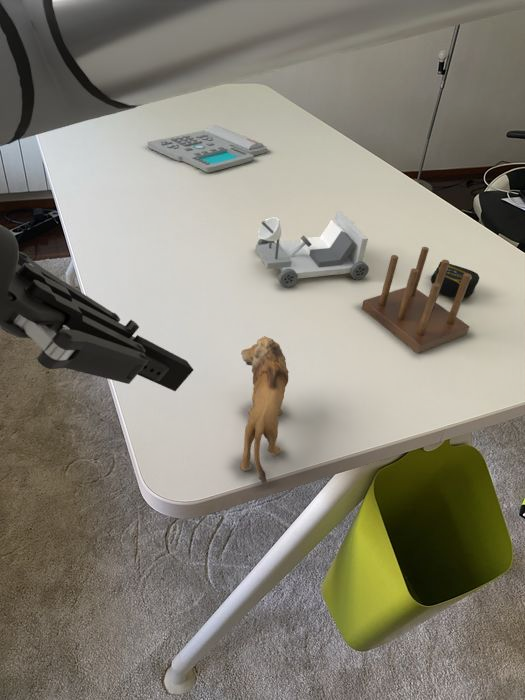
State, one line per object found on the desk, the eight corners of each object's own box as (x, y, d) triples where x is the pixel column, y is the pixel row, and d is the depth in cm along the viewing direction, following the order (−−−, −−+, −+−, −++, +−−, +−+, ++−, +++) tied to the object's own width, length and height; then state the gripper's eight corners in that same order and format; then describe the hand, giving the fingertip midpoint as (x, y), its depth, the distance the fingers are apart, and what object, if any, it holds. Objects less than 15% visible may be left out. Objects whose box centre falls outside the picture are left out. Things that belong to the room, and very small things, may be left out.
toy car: (268, 232, 79) (245, 198, 87) (262, 290, 85) (241, 253, 93) (380, 223, 84) (347, 192, 92) (366, 279, 90) (337, 245, 98)
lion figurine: (237, 388, 67) (242, 329, 62) (280, 389, 68) (289, 330, 62) (239, 487, 56) (245, 425, 50) (291, 487, 56) (302, 427, 51)
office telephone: (220, 121, 141) (277, 143, 131) (219, 131, 142) (276, 154, 132) (146, 136, 126) (204, 162, 116) (146, 147, 128) (204, 174, 118)
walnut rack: (466, 334, 80) (489, 278, 74) (417, 353, 76) (436, 295, 70) (409, 293, 88) (425, 239, 82) (361, 308, 83) (374, 252, 77)
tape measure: (475, 290, 90) (483, 270, 88) (465, 309, 85) (473, 288, 83) (435, 276, 93) (441, 256, 90) (423, 294, 88) (429, 273, 85)
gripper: (-118, 252, 38) (130, 365, 56) (-97, 360, 30) (185, 452, 48) (-54, 167, 37) (176, 309, 55) (-15, 254, 29) (241, 388, 47)
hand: (180, 375), depth 51 cm, fingers closed
